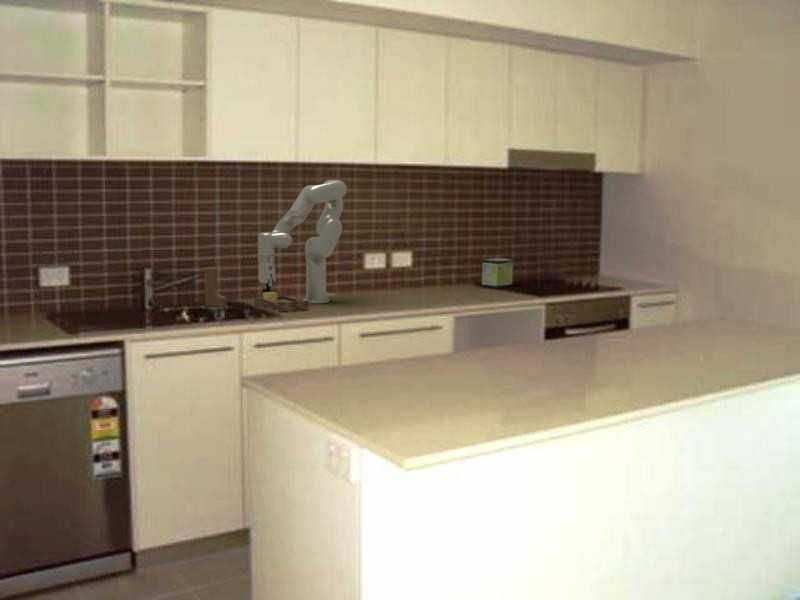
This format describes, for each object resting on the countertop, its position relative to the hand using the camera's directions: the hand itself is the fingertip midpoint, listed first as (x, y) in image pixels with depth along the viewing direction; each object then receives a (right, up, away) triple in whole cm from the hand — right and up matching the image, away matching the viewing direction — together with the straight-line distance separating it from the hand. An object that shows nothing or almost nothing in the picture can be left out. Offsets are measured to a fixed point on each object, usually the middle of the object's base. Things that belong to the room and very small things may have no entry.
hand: (266, 297), depth 417 cm
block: (+2, -2, -4) cm, 5 cm away
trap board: (+7, -4, -5) cm, 10 cm away
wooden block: (-23, -4, -7) cm, 24 cm away
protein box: (+118, +6, +82) cm, 144 cm away
